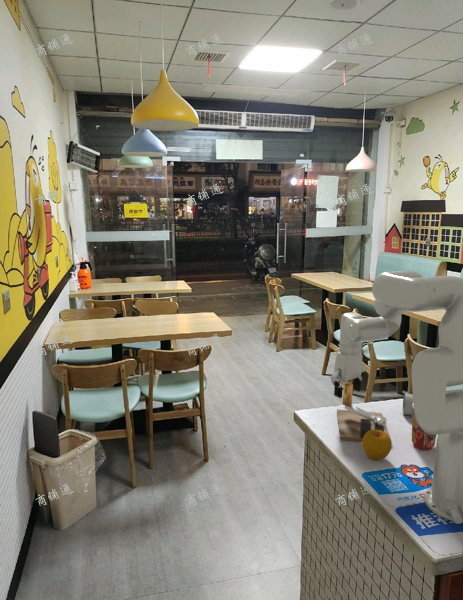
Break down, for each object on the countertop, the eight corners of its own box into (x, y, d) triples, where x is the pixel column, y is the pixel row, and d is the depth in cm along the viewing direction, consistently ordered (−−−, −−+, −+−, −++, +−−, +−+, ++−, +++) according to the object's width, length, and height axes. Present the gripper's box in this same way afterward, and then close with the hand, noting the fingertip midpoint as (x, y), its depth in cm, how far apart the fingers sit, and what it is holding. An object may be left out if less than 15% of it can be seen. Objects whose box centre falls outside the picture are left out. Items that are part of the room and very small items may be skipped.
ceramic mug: (427, 420, 155) (429, 400, 153) (403, 417, 157) (404, 397, 156) (423, 408, 165) (425, 389, 163) (401, 405, 167) (402, 387, 166)
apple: (372, 468, 126) (374, 441, 124) (355, 453, 134) (356, 427, 132) (396, 463, 129) (398, 436, 127) (377, 448, 137) (379, 423, 135)
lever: (388, 424, 143) (390, 397, 141) (380, 428, 141) (383, 400, 139) (347, 405, 157) (348, 380, 155) (339, 408, 155) (341, 383, 153)
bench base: (391, 445, 139) (392, 425, 137) (340, 440, 141) (341, 421, 140) (381, 416, 158) (382, 399, 156) (336, 413, 161) (337, 395, 159)
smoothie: (440, 454, 133) (446, 394, 129) (411, 451, 135) (417, 392, 131) (433, 440, 141) (439, 383, 137) (406, 438, 143) (411, 381, 139)
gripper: (358, 340, 158) (355, 384, 162) (325, 349, 148) (322, 395, 152) (375, 346, 152) (371, 391, 156) (341, 355, 142) (338, 403, 146)
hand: (347, 393), depth 154 cm, fingers open, 9 cm apart
